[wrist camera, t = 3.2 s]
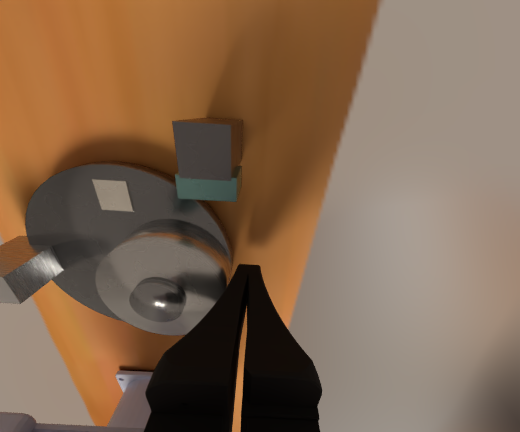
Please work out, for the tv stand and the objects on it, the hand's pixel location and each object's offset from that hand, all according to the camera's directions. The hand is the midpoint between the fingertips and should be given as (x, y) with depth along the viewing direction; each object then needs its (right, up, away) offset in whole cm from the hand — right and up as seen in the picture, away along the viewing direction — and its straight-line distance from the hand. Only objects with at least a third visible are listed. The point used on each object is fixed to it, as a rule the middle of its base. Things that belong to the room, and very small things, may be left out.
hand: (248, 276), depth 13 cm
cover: (-5, +1, +1) cm, 5 cm away
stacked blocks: (-1, +8, -2) cm, 8 cm away
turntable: (-8, +1, +2) cm, 8 cm away
